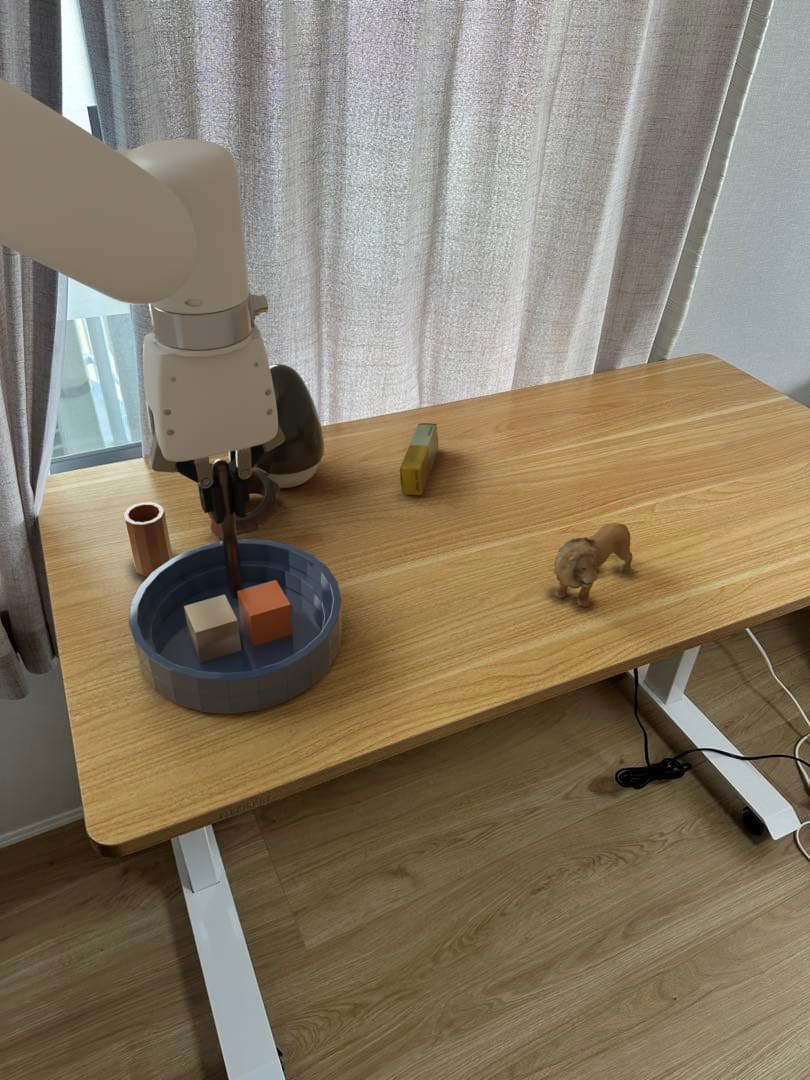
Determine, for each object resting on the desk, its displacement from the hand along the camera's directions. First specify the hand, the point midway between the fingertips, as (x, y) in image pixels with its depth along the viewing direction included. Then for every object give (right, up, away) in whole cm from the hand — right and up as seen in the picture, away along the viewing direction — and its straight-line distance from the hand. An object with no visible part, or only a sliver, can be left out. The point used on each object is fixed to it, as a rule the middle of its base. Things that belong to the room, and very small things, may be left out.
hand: (226, 511), depth 73 cm
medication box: (+18, +6, +31) cm, 37 cm away
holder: (-11, -5, +14) cm, 19 cm away
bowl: (0, -12, +6) cm, 14 cm away
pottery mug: (-4, 0, +22) cm, 22 cm away
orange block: (+2, -11, +7) cm, 13 cm away
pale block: (-2, -13, +5) cm, 14 cm away
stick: (0, -8, +6) cm, 11 cm away
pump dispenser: (+1, +5, +29) cm, 30 cm away
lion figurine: (+36, -8, +14) cm, 40 cm away
